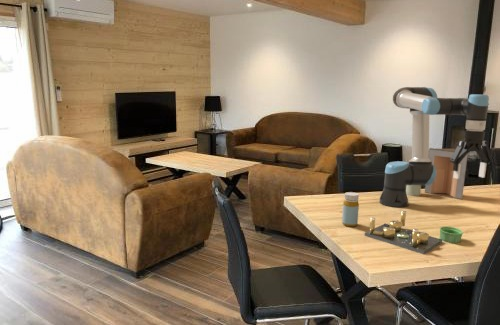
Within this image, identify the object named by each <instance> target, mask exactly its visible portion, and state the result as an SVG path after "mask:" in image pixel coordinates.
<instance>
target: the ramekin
mask: <svg viewBox="0 0 500 325" xmlns="http://www.w3.org/2000/svg"><path fill="white" fill-rule="evenodd" d="M463 234H464V231H463V230H462V229H460V228H457V227H455V226H454V227H452V226H441V227H440V228H439V239H442V242H446V243H449V244H458V243H461V241H462V236H463Z"/></svg>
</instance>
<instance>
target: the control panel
mask: <svg viewBox="0 0 500 325" xmlns="http://www.w3.org/2000/svg"><path fill="white" fill-rule="evenodd" d="M389 226H390V223H389V224H388V223H383V224H381V225H379V226H377V227H375V228H374V231H379V232H383V228H384V227H389ZM412 233H413V230H410V229H406V228H403V227H401V231H395V237H394V238H387V237H384V236H383V235H378V234H371V233H369V230H368V231H365V232H364V236H366V237H368V238H372V239H375V240H378V241H381V242H385V243H387V244H390V245H394V246H397V247H400V248H403V249H406V250H409V251H413V252H415V253H418V254H422V255H425V254H427V253H428V252H430V251H431V250H433V249H434V248H436V247H437V246H440V244H442V243H443V240H442V239H440V238H438V237H435V236H431V235H429V238H428V243H420V244H418V245H417V246H412V245H411V243H412Z"/></svg>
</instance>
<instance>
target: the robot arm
mask: <svg viewBox="0 0 500 325" xmlns="http://www.w3.org/2000/svg"><path fill="white" fill-rule="evenodd" d="M489 98H490V97H489V95H488V94H474V93H471V94H469V97H468V98H465V97H458V98H457V97H454V98H453V97H452V98H451V97H450V98H448V97H444V98H443V97H438V94H437V91H436V90H435V89H434V88H432V87H426V86H423V87H421V86H420V87H419V86H415V87H414V86H413V87H412V86H411V87H410V86H406V87H401V88H398V89H397V90H395V92H394V93H393V95H392V103H393V104H394V105H395V107H398V108H400V109H409V113H410V114H411V115H412V125H411V126H412V127H411V128H412V135H411V136H412V137H411V140H412V141H411V151H412V152H411V159H409V160H408V162H407V161H399V160H397V161H390V162H388V163H387V164H386V165H385V170H384V179H383V180H384V181H383V182H384V183H383V189H382V192H381V194H380V196H379V203H380V204H382V205H384V206H386V207H392V208H393V207H394V208H406V207H408V205H409V198H408V195H407V194H406V185H421V187H423V186H425V185H430V184H431V183H432V182H433V181H434V180H435V177H436V169H435V166H434V165H432V161H431V160H430V159H429V148H430V116H434V115H436V116H438V115H439V116H440V115H443V116H444V115H447V116H466V119H465V120H466V121H465V129H466V130H464V136H463V138H464V141H462V140H458V142H457V146H456V147H455V152H454V153H453V155H452V157H451V159H450V162H452V163H454V166H453V171H454V175H453V178H456V179H459V176H460V167H461V164H459V163H460V162H461V161H462V159H463V158H464V157H465V156H466V155H467V153H468V154H469V153H470V152H471V153H472V152H476V153H477V156H478V157H479V158H480V160H481V161H480V162H479V170H478V177H479V178H482V179H483V178H486V173H487V172H486V171H487V169H488V164H490V163H491V162H492V161H493V158H492V154H491V151H490V148H489V141H487V140H484V138H485V132H486V131H485V130H486V124H487V123H486V122H487V117H488V110H489V104H490V103H489Z"/></svg>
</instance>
